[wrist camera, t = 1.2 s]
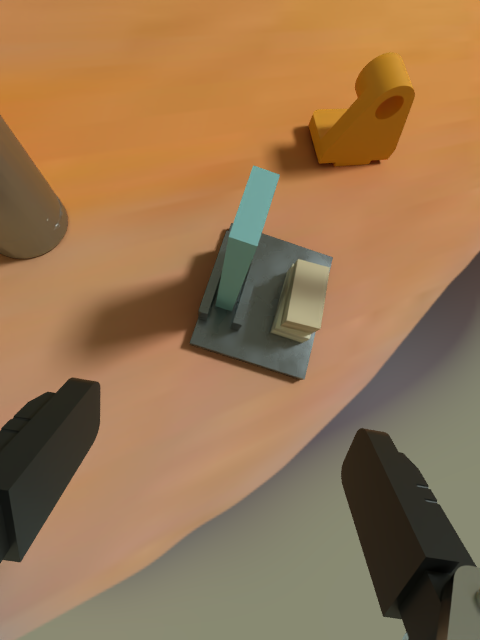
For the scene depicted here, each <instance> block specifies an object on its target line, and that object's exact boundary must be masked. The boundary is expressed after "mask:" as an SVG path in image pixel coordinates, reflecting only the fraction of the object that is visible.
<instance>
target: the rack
mask: <svg viewBox="0 0 480 640" xmlns="http://www.w3.org/2000/svg"><path fill="white" fill-rule="evenodd" d="M232 226H233V223H231V226H230V229H229V231H226V234H225V236H224V239H223V242H222V245H221V248H220V251H219V254H218V256H217V259H216V262H215V265H214V268H213V271H212V274H211V276H210V279H209V282H208V285H207V288H206V291H205V294H204V296H203V299H202V302H201V305H200V308H199V311H198V321H197V323H196V326H195V329H194V332H193V335H192V338H191V341H190V345H192V346H196V347H199V348H202V349H205V350H208V351H211V352H215V353H218V354H221V355H224V356H227V357H230V358H234V359H237V360H240V361H243V362H246V363H249V364H253V365H256V366H259V367H262V368H265V369H268V370H271V371H275V372H278V373H281V374H284V375H287V376H290V377H294V378H297V379H300V380H303V379H305V375H306V370H307V366H308V362H309V357H310V353H311V349H312V345H313V340H314V336H315V332H314V333H312V334H311V337H310V339H309V340H307V341H305V342H303V343H301V342H298V341H295V340H292V339H289V338H286V337H283V336H279V335H276V334H273V333H270V332H271V328H272V324H273V321H274V317H275V313H276V310H277V306H278V302H279V299H280V295H281V292H282V288H283V284H284V281H285V277H286V273H287V271H288V270H289V268H290V267H291V266H292V264H295V262H296V261H297V260H298V259H300V260H304V261H308V262H311V263H315V264H319V265H322V266H326V267H331V263H332V259H333V257H330V256H327V255H324V254H321V253H318V252H315V251H312V250H309V249H306V248H303V247H301V246H298V245H295V244H292V243H289V242H286V241H283V240H280V239H277V238H274V237H271V236H268V235H265V234H262V233H261V237H260V240H259V243H258V246H257V249H256V251H255V254H254V256H253V259H252V261H251V264H250V266H249V269H248V272H247V274H246V277H245V279H244V282H243V284H242V287H241V289H240V292H239V294H238V297H237V299H236V302H235V304H234V307H233V310H232V311H229V310H226V309H223V308H220V307H217V306H215V305H216V300H217V295H218V290H219V285H220V279H221V274H222V269H223V264H224V259H225V253H226V248H227V243H228V238H229V234H230V232H231V229H232ZM329 272H330V270H329Z"/></svg>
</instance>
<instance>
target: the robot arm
mask: <svg viewBox="0 0 480 640" xmlns="http://www.w3.org/2000/svg"><path fill="white" fill-rule="evenodd" d="M67 226H68V216H67V212H66V209H65V208H64V206H63V204H62V203H61V201H60V199H59V198H58V197H57V196H56V194H55V193H54V191H53V190H52V188H51V187H50V185H49V184H48V182H47V181H46V180H45V178H44V177H43V175H42V174H41V172H40V171H39V170H38V168H37V167H36V165H35V164H34V162H33V161H32V160H31V158H30V157H29V155H28V154H27V152H26V151H25V149H24V148H23V147H22V145H21V144H20V142H19V141H18V139H17V138H16V137H15V135H14V134H13V132H12V131H11V129H10V128H9V127H8V125H7V124H6V122H5V121H4V119H3V118H2V117H1V115H0V254H3V255H5V256H7V257H12V258H19V259H27V258H33V257H37V256H40V255H43V254H45V253H47V252H48V251H50V250H52V249H53V248H54V247H55V246H56V245H58V244H59V242H60V241H61V240H62V238H63V237H64V235H65V233H66V231H67ZM99 425H100V384H99V382H96V381H90V380H84V379H78V378H70V379H69V380H68V381H67V382H66V383H65V384H64V385H63V386H62V387H61V388H60V389H59V390H58V391H57V392H56V393H52V392H46V393H44V394H42V395H41V396H39V397H37V398H35V399H33V400H31V401H29V402H28V403H27V404H26V405H25V406H24V407H23V408H22V409H21V410H20V411H19V412H18V413H17V414H16V415H15V416H14V418H13V419H10V420H9V421H8V422H7V423H6V424H5V425H4V426H3V427H2V429H1V431H0V563H1V561H2V560H8V561H15V562H21V561H22V559H23V557H24V556H25V554H26V552H27V551H28V549H29V547H30V546H31V544H32V543H33V541H34V539H35V538H36V536H37V534H38V533H39V531H40V529H41V528H42V526H43V525H44V523H45V521H46V520H47V518H48V516H49V515H50V513H51V511H52V510H53V508H54V507H55V505H56V503H57V502H58V500H59V498H60V497H61V495H62V493H63V492H64V490H65V489H66V487H67V485H68V484H69V482H70V480H71V479H72V477H73V475H74V474H75V472H76V471H77V469H78V467H79V466H80V464H81V462H82V461H83V459H84V457H85V456H86V454H87V453H88V451H89V449H90V448H91V446H92V444H93V443H94V441H95V438H96V436H97V433H98V430H99ZM341 477H342V478H341V479H342V485H343V488H344V491H345V494H346V498H347V501H348V504H349V507H350V510H351V514H352V517H353V520H354V524H355V527H356V530H357V533H358V536H359V540H360V543H361V546H362V549H363V552H364V556H365V559H366V563H367V566H368V569H369V572H370V575H371V579H372V581H373V585H374V588H375V592H376V595H377V598H378V601H379V605H380V608H381V611H382V614H383V616H384V617H390V618H397V619H402V620H403V623H404V626H405V629H406V633H405V635H404V636H403V639H402V640H480V568H477V566H476V565H475V563H474V562H473V560H472V558H471V557H470V555H469V553H468V552H467V550H466V548H465V547H464V545H463V543H462V542H461V540H460V538H459V537H458V535H457V533H456V531H455V530H454V528H453V526H452V525H451V523H450V521H449V520H448V518H447V517H446V515H445V513H444V511H443V510H442V508H441V506H440V505H439V504H437V499H436V498H435V496H434V495H433V493H432V491H431V490H430V489H428V484H427V483H426V481H425V480H424V478H423V476H422V474H421V473H420V471H419V469H418V468H417V467H416V466H415V465H414V464H413V463H412V462H411V461H410V460H409V459H408V458H407V457H406V456H405V455H404V454H403V453H400V452H398V451H397V449H396V447H395V445H394V443H393V441H392V440H391V438H390V436H389V435H388V434H387V433H385V432H380V431H375V430H368V429H363V428H361V429H359V430H358V431H357V433H356V435H355V437H354V440H353V442H352V444H351V446H350V448H349V451H348V453H347V455H346V458H345V460H344V462H343V465H342V471H341Z"/></svg>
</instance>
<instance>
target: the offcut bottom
mask: <svg viewBox="0 0 480 640" xmlns="http://www.w3.org/2000/svg"><path fill="white" fill-rule="evenodd" d="M293 265H294V264H292V266H291V267H290V268H289V270H288V271H287V273H286V277H285V281H284V284H283V288H282V292H281V295H280V299H279V302H278V306H277V310H276V313H275V317H274V321H273V324H272V328H271V332H270V333H273V334H276V335H279V336H283V337H286V338H289V339H292V340H295V341H298V342H301V343H303V342H305V341H307V340H309V339H310V337H311V333H307V332H303V331H299V330H295V329H291V328H287V327H283V326H280V324H281V319H282V314H283V309H284V304H285V298H286V293H287V288H288V283H289V277H290V272H291V268H292V267H293Z"/></svg>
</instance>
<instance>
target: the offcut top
mask: <svg viewBox="0 0 480 640" xmlns="http://www.w3.org/2000/svg"><path fill="white" fill-rule="evenodd" d="M329 270H330V267H326V266H322V265H319V264H315V263H311V262H308V261H304V260H300V259H298V260H297V261H296V262H295V264H294V265H293V267H292V268H291V272H290V277H289V283H288V288H287V293H286V298H285V304H284V309H283V314H282V319H281V324H280V326H283V327H287V328H291V329H295V330H299V331H303V332H307V333H311V334H312V333H314V332H316V331H317V330H319V329H320V328H321V322H322V315H323V309H324V302H325V296H326V289H327V283H328V276H329Z"/></svg>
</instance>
